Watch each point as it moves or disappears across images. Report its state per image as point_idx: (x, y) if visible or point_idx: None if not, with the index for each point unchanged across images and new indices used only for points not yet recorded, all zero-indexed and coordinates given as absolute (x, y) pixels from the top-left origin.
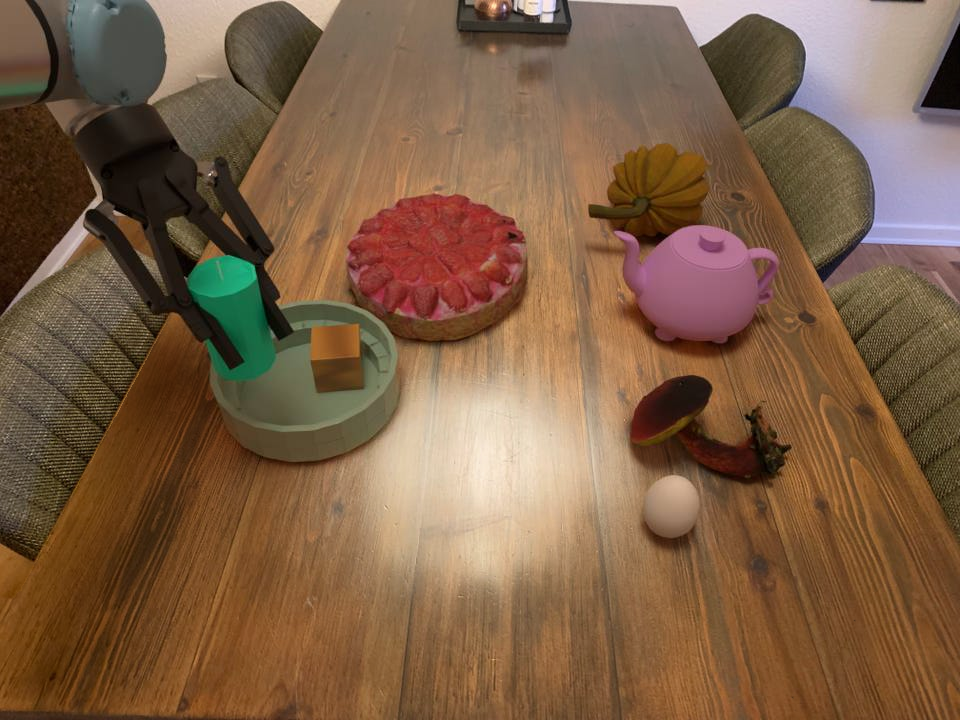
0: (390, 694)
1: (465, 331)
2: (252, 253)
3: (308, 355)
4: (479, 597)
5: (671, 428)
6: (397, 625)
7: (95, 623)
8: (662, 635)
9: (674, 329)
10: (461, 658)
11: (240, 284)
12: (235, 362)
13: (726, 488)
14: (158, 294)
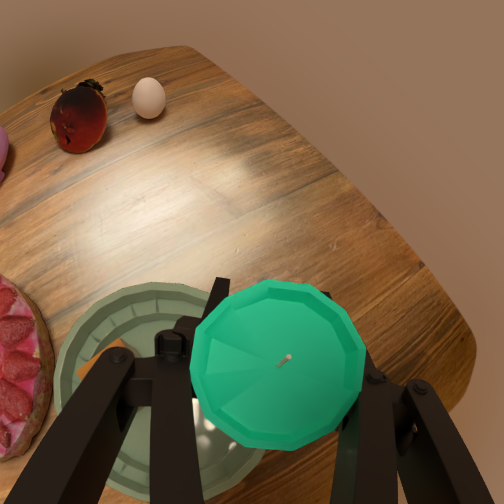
0: (336, 177)
1: (28, 297)
2: (159, 370)
3: (128, 433)
4: (256, 165)
5: (102, 97)
6: (305, 193)
7: (436, 352)
8: (216, 99)
9: (4, 153)
10: (294, 158)
11: (262, 317)
12: (329, 295)
13: (112, 106)
14: (423, 401)
